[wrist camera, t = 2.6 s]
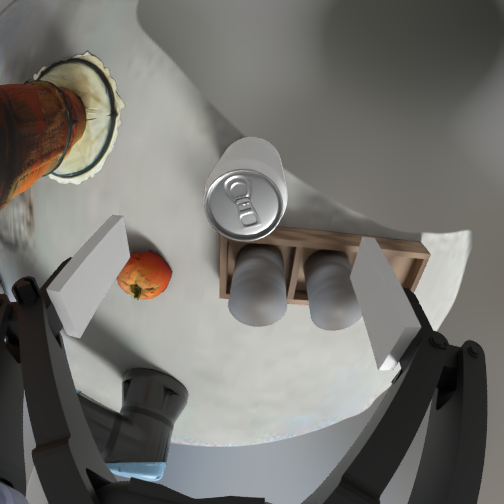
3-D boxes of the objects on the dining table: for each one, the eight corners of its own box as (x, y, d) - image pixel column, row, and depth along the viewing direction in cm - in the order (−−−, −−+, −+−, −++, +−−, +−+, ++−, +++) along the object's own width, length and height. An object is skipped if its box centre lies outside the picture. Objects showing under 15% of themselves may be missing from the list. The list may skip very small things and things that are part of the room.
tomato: (109, 284, 39) (105, 289, 32) (125, 241, 40) (123, 237, 33) (157, 303, 42) (162, 311, 35) (172, 260, 43) (180, 260, 36)
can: (271, 128, 28) (275, 151, 18) (288, 183, 31) (298, 235, 21) (214, 146, 29) (185, 179, 19) (233, 198, 32) (217, 255, 22)
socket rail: (222, 283, 39) (212, 332, 32) (223, 221, 34) (211, 264, 26) (399, 295, 39) (419, 338, 31) (421, 242, 34) (451, 282, 26)
